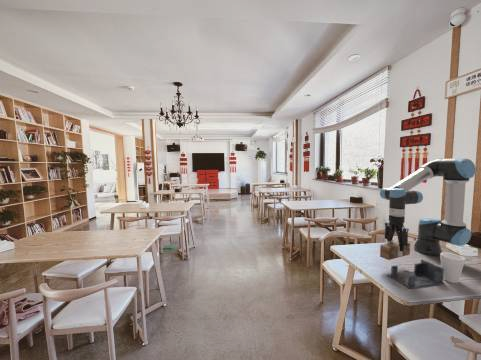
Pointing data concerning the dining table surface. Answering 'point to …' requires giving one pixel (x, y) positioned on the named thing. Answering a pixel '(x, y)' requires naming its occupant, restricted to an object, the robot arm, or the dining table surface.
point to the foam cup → (452, 266)
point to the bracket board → (419, 275)
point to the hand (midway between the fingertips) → (395, 253)
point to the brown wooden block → (392, 250)
